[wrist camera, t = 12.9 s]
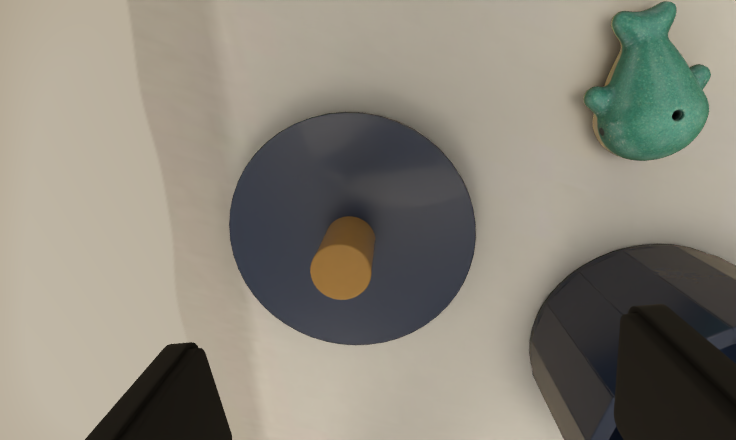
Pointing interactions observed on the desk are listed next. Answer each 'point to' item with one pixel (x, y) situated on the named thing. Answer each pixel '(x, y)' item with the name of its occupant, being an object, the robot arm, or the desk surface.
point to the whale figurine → (648, 90)
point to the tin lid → (352, 228)
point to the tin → (602, 326)
